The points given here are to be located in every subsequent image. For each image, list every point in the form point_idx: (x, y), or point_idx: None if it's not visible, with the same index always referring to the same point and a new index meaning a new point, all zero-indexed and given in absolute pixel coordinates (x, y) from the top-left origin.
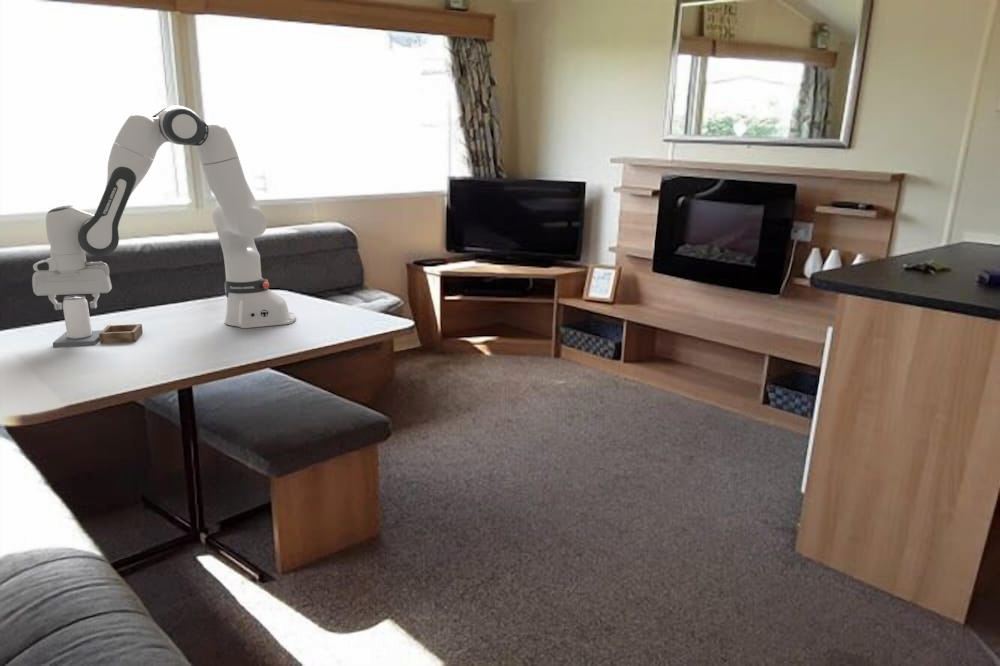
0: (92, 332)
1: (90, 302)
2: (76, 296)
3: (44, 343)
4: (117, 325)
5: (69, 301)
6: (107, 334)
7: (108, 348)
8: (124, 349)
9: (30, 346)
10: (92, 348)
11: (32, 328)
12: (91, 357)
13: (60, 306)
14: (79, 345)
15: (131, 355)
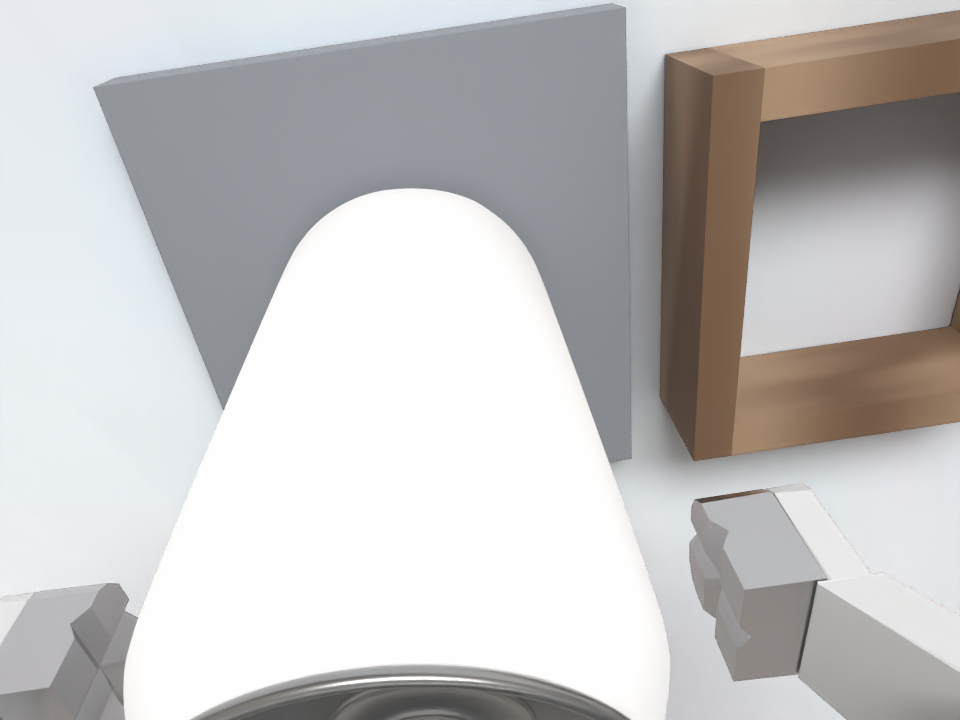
0: (490, 134)
1: (751, 663)
2: (323, 658)
3: (97, 385)
4: (857, 88)
5: None
6: (770, 439)
7: None
8: (882, 536)
9: (40, 470)
10: (632, 517)
11: None
12: (685, 671)
13: (101, 660)
14: None
15: None
